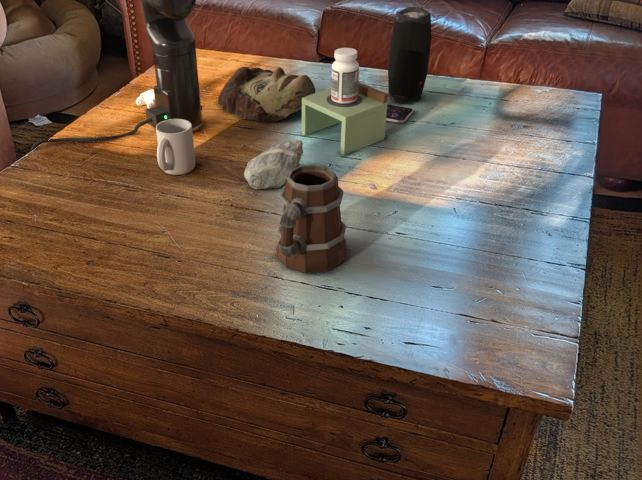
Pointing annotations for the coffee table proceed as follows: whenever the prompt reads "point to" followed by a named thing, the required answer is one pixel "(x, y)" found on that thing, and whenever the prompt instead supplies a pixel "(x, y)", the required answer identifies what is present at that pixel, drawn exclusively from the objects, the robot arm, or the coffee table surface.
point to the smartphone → (398, 113)
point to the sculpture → (264, 94)
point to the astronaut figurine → (147, 99)
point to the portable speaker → (409, 54)
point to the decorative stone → (273, 165)
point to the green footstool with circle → (348, 116)
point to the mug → (311, 220)
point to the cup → (175, 146)
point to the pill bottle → (345, 76)
